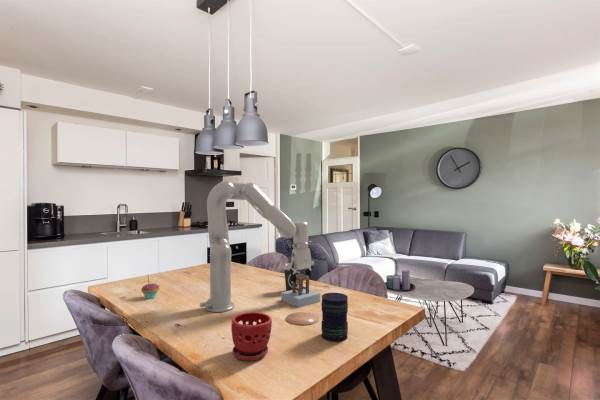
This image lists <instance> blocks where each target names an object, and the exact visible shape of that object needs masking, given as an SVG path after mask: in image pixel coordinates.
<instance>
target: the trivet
mask: <svg viewBox="0 0 600 400" xmlns="http://www.w3.org/2000/svg"><path fill="white" fill-rule="evenodd" d="M285 319H286V320H285V321H286V322H288V323H289V324H292V325H296V326H308V325H309V326H310V325H314V324H316V323H317V322H319V316H318V315H317V314H315V313H311V312H306V311H299V312H292V313H290V314H288V315H286V317H285Z"/></svg>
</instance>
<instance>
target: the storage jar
mask: <svg viewBox="0 0 600 400" xmlns="http://www.w3.org/2000/svg"><path fill="white" fill-rule="evenodd" d="M320 308H321V313H322V316H321V318H322V319H321V323H320V324H321V326H320V327H321V329H320V330H321V338H322V339H323V340H324V341H327V342H329V343H330V342H331V343H339V342H340V343H341V342H344V341H346V340H348V334H349V333H348V331H349V327H348V326H349V324H348V312H349V311H348V310H349V309H348V308H349V301H348V295H346V294H345V293H340V292H327V293H323V294H322V295H321V307H320Z"/></svg>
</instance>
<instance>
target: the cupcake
mask: <svg viewBox="0 0 600 400" xmlns="http://www.w3.org/2000/svg"><path fill="white" fill-rule="evenodd" d="M147 282H148V283H147V284H144V286H143V287H141V293H143V296H144V299H146V300H152V299H155V298H156V296H157V293H158V291H160V286H159V284H156V283H151V282H150V275H149V274H147Z"/></svg>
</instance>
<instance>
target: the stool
mask: <svg viewBox="0 0 600 400" xmlns="http://www.w3.org/2000/svg"><path fill="white" fill-rule="evenodd" d="M296 280H297V281H298V289H297V288H296V282H292V293H296V290H297V291H298V295H302V291H303V289H306V293H307V294H308V293H309V290H310V279H309V276H307V275H306V274H302V273H299V275H296ZM304 281H305V286H304Z"/></svg>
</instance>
